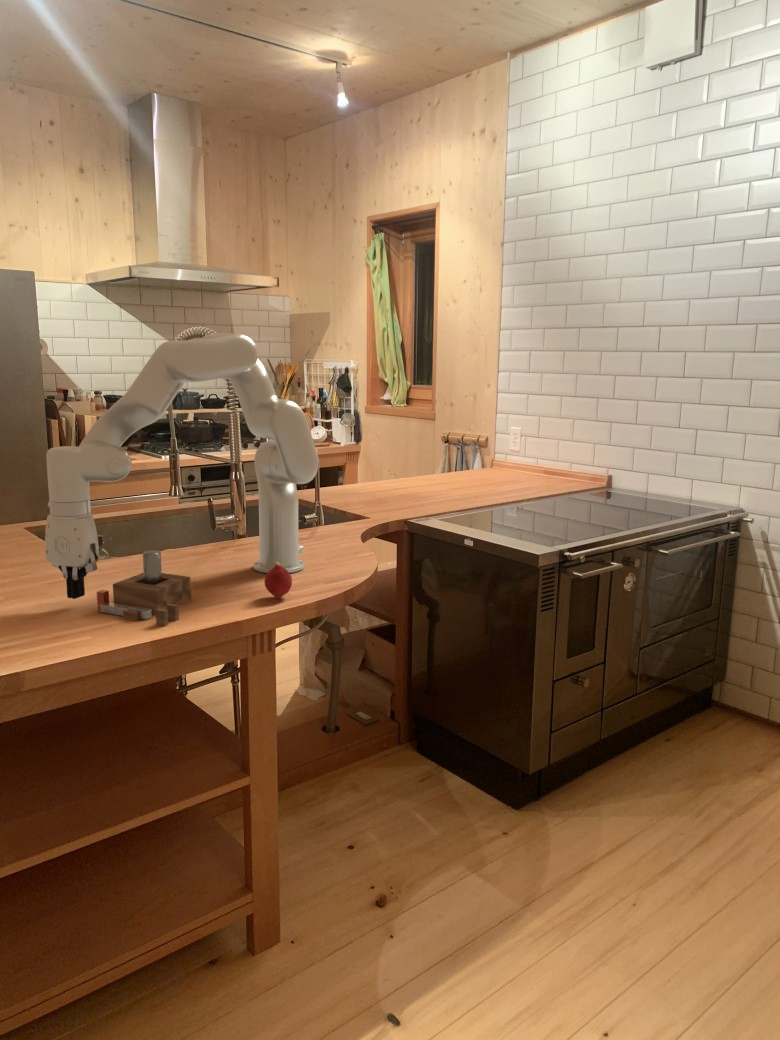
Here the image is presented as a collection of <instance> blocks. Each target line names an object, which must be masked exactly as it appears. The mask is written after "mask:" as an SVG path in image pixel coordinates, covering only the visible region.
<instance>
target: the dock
mask: <svg viewBox="0 0 780 1040" xmlns="http://www.w3.org/2000/svg"><path fill="white" fill-rule="evenodd" d="M191 592H192V588H191V576H188V575H187V576H185V575H180V574H172V573H166V572H165V573H163V572H162V582H161V583H159V584H156V585H150V584H144V572H141V573H139V574H136V575H133V576H131V577H128V578H126V579H123V580H120V581H117V582H115V583H114V582H113V584H112V594H113V603H116V604H123V605H129V606H135V607H142V608H148V609H151V614H153V615H155V624H156V626H161V627H166V626H168V625H169V621H173V622H174V621H175V622H176V621H179V620H180V613H179V609H180V608H179V605H182V604H184V603H186V602H188V601H191V600H192V596H191V595H192V593H191ZM122 617H123V620H128V621H134V622H136V621H139V618H138V612H134V611H128V610H125V611H123V616H122Z"/></svg>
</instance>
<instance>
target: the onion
mask: <svg viewBox="0 0 780 1040" xmlns="http://www.w3.org/2000/svg"><path fill="white" fill-rule="evenodd" d="M292 584H293V578H292V575H291V573H289V572H288V571H287V570H286V569H285V568H284V567H282V566H281V565H280V564H279V563H278V562H275V567H273V568H272V569H271V570H270V571H269V572H268V573H266V575H265V576H264V587H265V588H266V590H267V592H269V593H270V594H271V595H272V596H274V598H276V599H280V598H282V597H283V596H285V595H286V594H287V593H288V592H289V591H290V590H291V587H292Z"/></svg>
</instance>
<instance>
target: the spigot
mask: <svg viewBox="0 0 780 1040" xmlns="http://www.w3.org/2000/svg"><path fill="white" fill-rule="evenodd" d="M142 567H143V568H142V569H143V572H142V573H144V584H150V585H156V584H159V583H161V582H162V573H163V572H162V570H163V569H162V552H161V551H160V550H158V549H156V550H155V549H153V550H152V549H149V550H143V552H142Z"/></svg>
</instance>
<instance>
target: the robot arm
mask: <svg viewBox="0 0 780 1040" xmlns="http://www.w3.org/2000/svg"><path fill="white" fill-rule="evenodd" d="M223 378H224V379H225V378H226V379H227V380H228V381H229V383H230V384H231V386H232V388H233V389H234V392H235V393H236V396H237V399H238V403H239V405H240V408H241V411H242V413H243V417H244V419H245V423H246V426H247V428H248V430H249V432H250V433H251V434H252V435H253V436H255V437H257V438H261V439H266V441H265V442H263V443H261V444H260V445H259V446H258V448H257V449H256V451H255V454H254V457H253V458H254V459H253V460H254V462H253V463H254V471H255V475H256V479H257V488H258V517H259V518H258V523H259V524H258V525H259V526H258V527H259V529H258V530H259V531H258V534H259V535H258V536H259V543H258V544H259V559H257V560H256V561H254V562H253V569H254V570H255V571H256V572H259V573H262V574H263V573H264V574H267V573H268V572H269V571H270V570H271V569H272V568H273V567H275V562H278V563H279V564H280V565H281V566H282V567H284V568H285V569H286V570H287V571H288V572H289V573H290V574H291V573H297V572H300V571H302V570H303V569H304V568H305V564H306V563H305V561H304V560H303V559H301V558H299V556H300V554H301V553H304V551H305V548H304V547H305V546H303V545H302V544H299V494H298V493H299V492H298V489H297V485H303V484H307V483H309V482H311V481H313V480H314V478H315V477H316V476H317V472H318V469H319V456H318V451H317V449H316V445H315V442H314V439H313V435H312V432H311V428H310V425H309V422H308V419H307V417H306V413H305V412H304V411H303V409H302V408H301V406H300V405H298V404H297V403H296V402H295V401H292V400H289V399H284V398H279V397H278V396H277V394H276V391H275V389H274V385H273V383H272V381H271V378H270V376H269V373H268V371H267V369H266V366H265V365H264V364H263V363H262V361H261V360H260V359H259V351H258V346H257V344H256V343H255V341H254V340H253V339H252V338H251V337H249V336H247V335H246V334H242V333H211V334H210V333H209V334H206V335H204V336H203V337H201V338H200V339H190V340H189V339H187V340H185V339H183V340H182V339H181V340H180V339H179V340H168V341H164V342H163V343H161V344H160V345H158V347H157V348H156V349H155V351H154V352H153V353H152V354H151V356H150V357H149V359H148V360H147V362H146V363H145V365H144V366H143V368H142V369H141V371H140V372H139V373H138V375H137V377H136V378H135V379H134V381H133V382H132V384H131V385H130V387H129V388H128V389H127V391H126V392H125V393H124V394H123V395H122V396H121V398H120V397H119V399H118V400H117V401H116V402H114V404H112V405H111V406H110V407H109V408H108V409H107V410H106V411H105V412H104V413H102V415H101V416H100V417H99V418H98V419H97V420H96V421H95V422H94V424H93V425H92V426H91V428H90V429H89V431H88V432H87V433H86V435H85V436H84V437H83V439H82V440H81V442H80V444H79V445H78V446H75V445H74V446H72V445H70V446H69V445H66V446H65V445H62V446H55V447H51V448H49V449H48V450H47V452H46V457H45V459H46V471H47V486H48V498H49V499H48V502H47V506H48V508H49V513H50V514H48V515H47V516H46V517H47V518H46V523H45V529H44V530H45V533H44V534H45V535H44V547H45V548H44V549H45V550H44V551H45V560H46V561H47V562H48V563H49V564H51V566H52V567H54V568H56V569H59V570H60V571H61V574H62V577H63V579H65V581H66V583H65V584H66V595H67V598H68V599H73V600H75V599H78V598H81V597H83V596H85V594H86V592H85V591H86V589H85V578H86V577H87V574H88V573H91V572H95V571H97V570H98V566H97V562H99V559H100V557H99V556H100V550H99V540H98V533H97V527H96V524H95V519H94V516H93V514H92V507H91V495H90V494H91V493H90V491H91V490H90V482H97V483H98V482H99V483H115V482H119V481H122V480H123V479H125V478H126V477H127V476H128V475H129V474H130V472H131V470H132V464H133V463H132V459H131V456H130V455H129V453H128V452H127V451H126V450H125V449H124V448H122V445H123V444H124V443H125V442H126V441H127V440H128V439H129V437H131V436H132V435H133V434H134V433H136V432H138V431H139V430H141V429H142V428H145V427H147V426H149V425H152V424H154V423H156V422H157V421H158V420H160V419H161V418H162V417H163V416H164V414H165V413H166V411H167V410H168V409H169V407H170V405H171V403H172V402H173V401H174V399H175V398H176V396H177V395H178V393H179V391H180V390H181V389H182V388H183V386H184V384H185V383H200V382H208V381H213V380H219V379H223ZM296 484H297V485H296Z"/></svg>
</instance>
